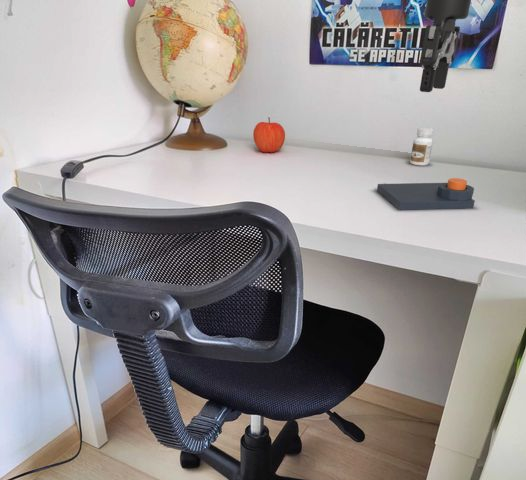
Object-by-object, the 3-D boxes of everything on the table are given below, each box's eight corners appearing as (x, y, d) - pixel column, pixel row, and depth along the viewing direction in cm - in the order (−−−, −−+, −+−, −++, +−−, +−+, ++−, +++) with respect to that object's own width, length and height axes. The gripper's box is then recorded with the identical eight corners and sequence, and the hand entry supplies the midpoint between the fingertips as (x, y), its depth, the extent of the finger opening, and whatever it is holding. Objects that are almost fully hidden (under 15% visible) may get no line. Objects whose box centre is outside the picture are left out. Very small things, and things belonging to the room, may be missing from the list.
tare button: (460, 186, 91) (462, 177, 90) (468, 191, 88) (470, 182, 88) (443, 186, 91) (445, 178, 90) (451, 191, 88) (453, 182, 87)
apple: (253, 154, 122) (253, 119, 118) (253, 148, 129) (253, 114, 124) (285, 155, 122) (286, 120, 118) (283, 148, 129) (285, 115, 125)
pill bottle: (406, 163, 117) (412, 128, 113) (416, 160, 120) (422, 126, 116) (422, 166, 115) (428, 131, 111) (432, 164, 117) (439, 129, 113)
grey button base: (446, 189, 99) (449, 174, 97) (476, 208, 89) (480, 191, 87) (376, 191, 97) (378, 175, 95) (398, 210, 87) (401, 193, 85)
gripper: (463, -17, 80) (441, 95, 89) (482, -12, 90) (461, 88, 99) (417, -16, 83) (401, 91, 92) (441, -11, 93) (424, 86, 102)
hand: (432, 90), depth 96 cm, fingers open, 8 cm apart
